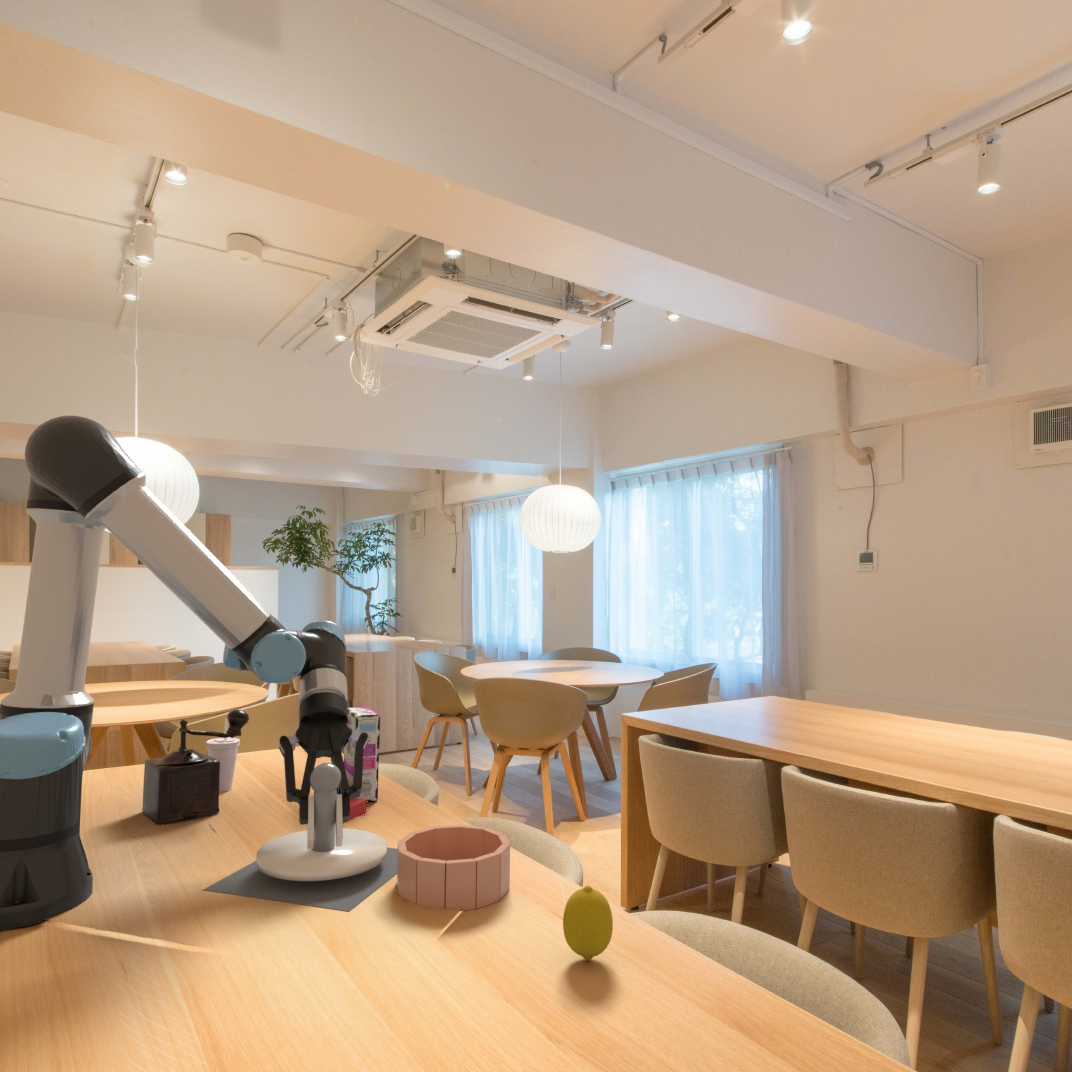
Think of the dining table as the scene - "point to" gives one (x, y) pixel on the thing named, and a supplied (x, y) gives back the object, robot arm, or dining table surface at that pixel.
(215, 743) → the smoothie
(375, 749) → the candy bar box
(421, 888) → the bowl
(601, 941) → the lemon
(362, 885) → the mat
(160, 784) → the coffee grinder
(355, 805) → the red rectangular block
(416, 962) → the dining table surface
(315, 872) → the lid
